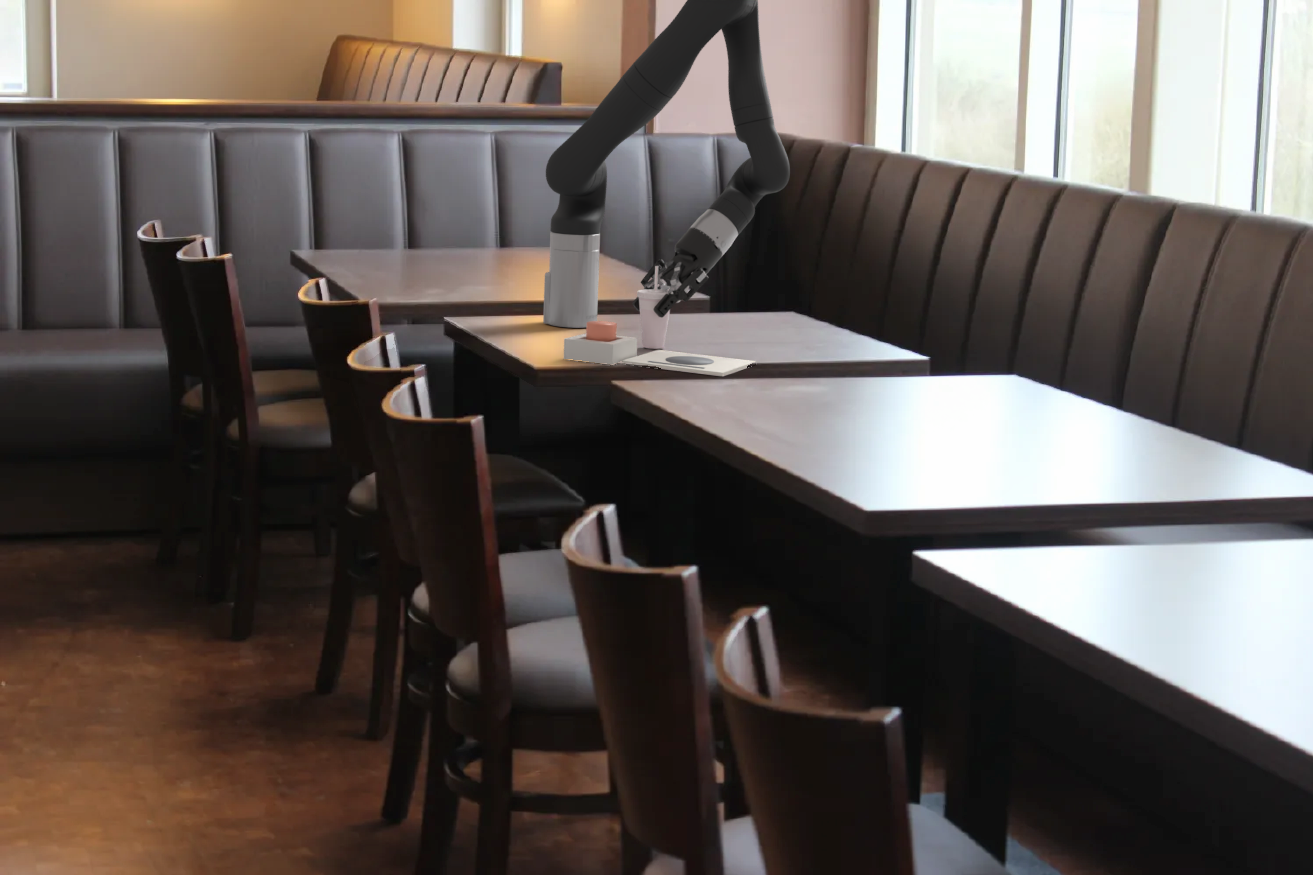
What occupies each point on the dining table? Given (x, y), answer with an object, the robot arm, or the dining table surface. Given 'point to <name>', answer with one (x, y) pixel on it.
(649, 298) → the smoothie
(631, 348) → the button housing
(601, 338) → the button
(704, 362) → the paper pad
